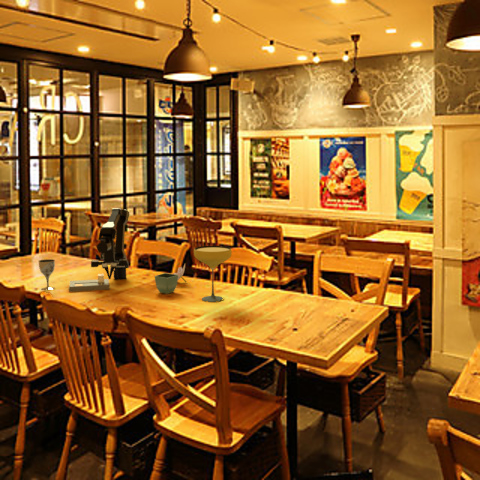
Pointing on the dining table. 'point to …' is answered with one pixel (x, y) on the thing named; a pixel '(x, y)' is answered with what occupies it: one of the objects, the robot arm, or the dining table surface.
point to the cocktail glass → (212, 262)
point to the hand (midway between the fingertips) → (109, 278)
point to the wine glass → (47, 270)
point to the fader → (100, 278)
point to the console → (88, 285)
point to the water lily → (180, 273)
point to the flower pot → (166, 282)
